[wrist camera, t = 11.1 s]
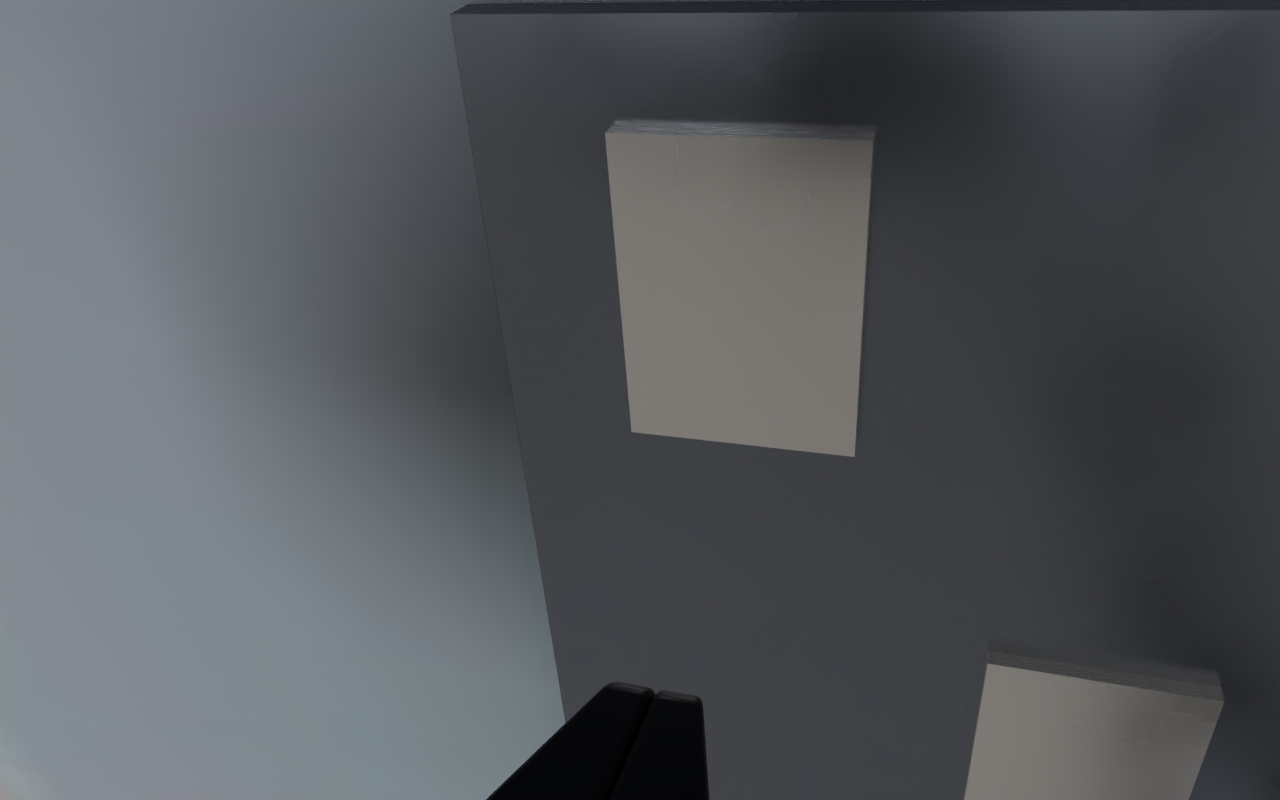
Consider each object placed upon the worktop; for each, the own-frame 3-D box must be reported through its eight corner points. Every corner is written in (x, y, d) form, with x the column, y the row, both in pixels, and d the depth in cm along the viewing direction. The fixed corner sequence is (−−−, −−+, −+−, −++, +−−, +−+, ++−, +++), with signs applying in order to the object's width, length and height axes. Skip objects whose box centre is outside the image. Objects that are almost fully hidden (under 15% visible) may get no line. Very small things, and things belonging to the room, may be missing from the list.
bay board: (1246, 938, 20) (1255, 982, 20) (589, 795, 24) (576, 828, 23) (1690, -7, 11) (1741, 13, 10) (467, 4, 14) (440, 20, 14)
